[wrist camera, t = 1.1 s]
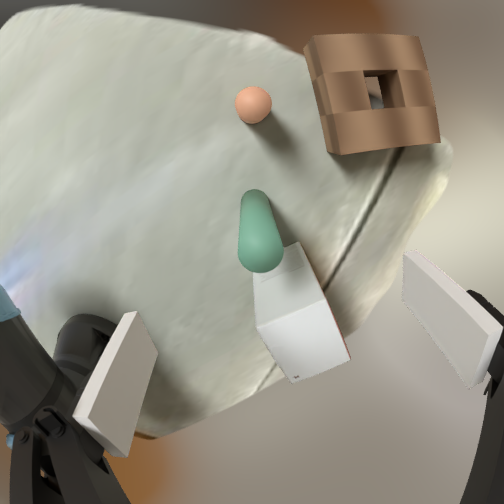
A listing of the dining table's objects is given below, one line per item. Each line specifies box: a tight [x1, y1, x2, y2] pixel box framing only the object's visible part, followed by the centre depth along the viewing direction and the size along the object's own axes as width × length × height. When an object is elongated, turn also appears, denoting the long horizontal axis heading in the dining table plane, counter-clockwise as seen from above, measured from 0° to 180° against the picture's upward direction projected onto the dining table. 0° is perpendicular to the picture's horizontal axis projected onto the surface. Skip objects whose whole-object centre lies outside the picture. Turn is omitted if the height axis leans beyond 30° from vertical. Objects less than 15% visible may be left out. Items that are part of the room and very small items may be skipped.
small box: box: [253, 241, 351, 384], centre depth 30 cm, size 8×6×13 cm
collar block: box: [303, 34, 441, 155], centre depth 25 cm, size 12×12×5 cm
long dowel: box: [238, 189, 284, 273], centre depth 26 cm, size 3×3×14 cm
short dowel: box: [235, 87, 272, 124], centre depth 25 cm, size 3×3×7 cm
